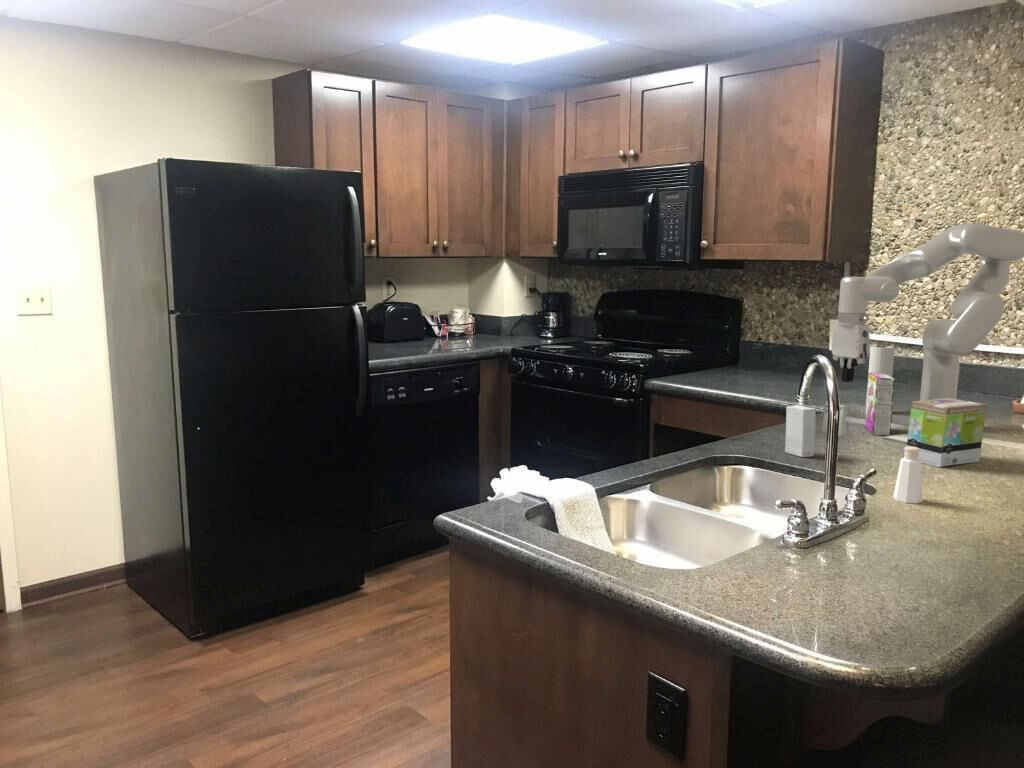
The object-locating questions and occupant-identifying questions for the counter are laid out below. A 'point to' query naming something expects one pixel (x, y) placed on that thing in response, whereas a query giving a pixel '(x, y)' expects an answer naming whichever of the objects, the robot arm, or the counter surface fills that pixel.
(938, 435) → the tea box
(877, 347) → the paper towel roll
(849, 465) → the counter surface
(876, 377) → the candy bar box
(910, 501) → the pepper shaker
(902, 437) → the mat
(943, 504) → the counter surface
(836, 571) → the counter surface
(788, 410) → the skincare box
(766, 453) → the counter surface
